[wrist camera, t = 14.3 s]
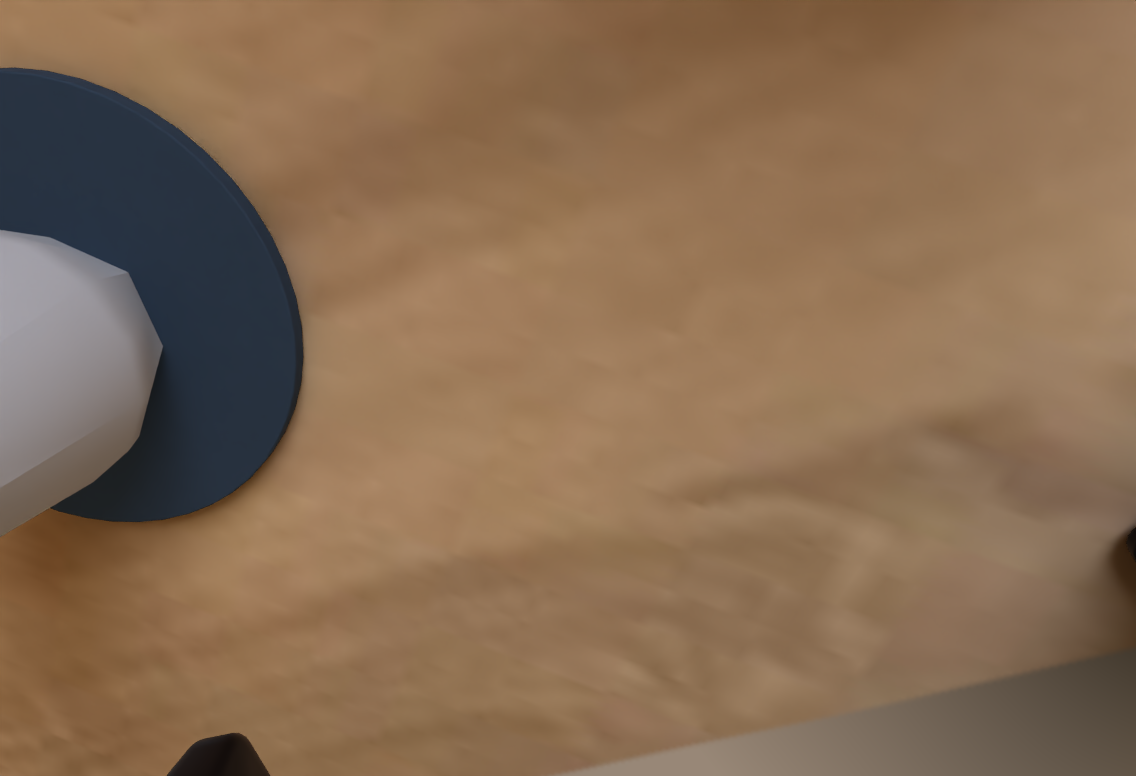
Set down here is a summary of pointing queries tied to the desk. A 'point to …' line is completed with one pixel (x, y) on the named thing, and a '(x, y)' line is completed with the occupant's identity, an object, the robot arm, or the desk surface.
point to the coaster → (161, 285)
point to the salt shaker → (66, 371)
